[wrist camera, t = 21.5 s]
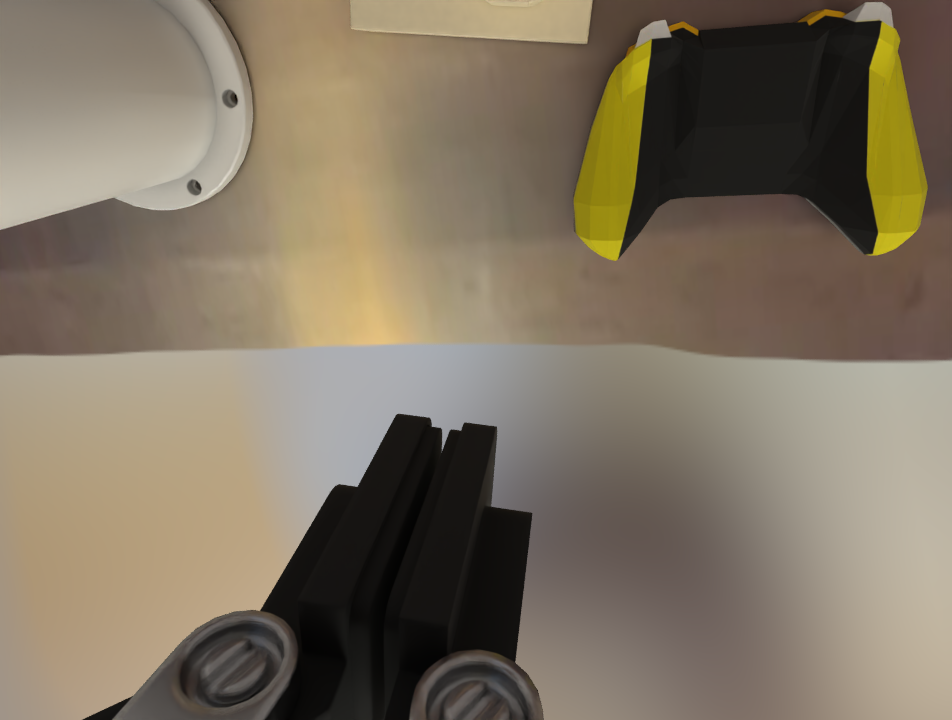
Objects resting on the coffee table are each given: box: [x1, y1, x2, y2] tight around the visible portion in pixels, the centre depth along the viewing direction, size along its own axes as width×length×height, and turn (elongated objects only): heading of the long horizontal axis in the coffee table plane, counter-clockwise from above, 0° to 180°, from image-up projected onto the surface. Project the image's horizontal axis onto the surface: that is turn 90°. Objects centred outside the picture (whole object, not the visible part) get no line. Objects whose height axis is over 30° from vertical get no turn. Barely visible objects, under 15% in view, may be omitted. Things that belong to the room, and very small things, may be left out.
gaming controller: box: [573, 2, 928, 261], centre depth 27 cm, size 15×6×10 cm
